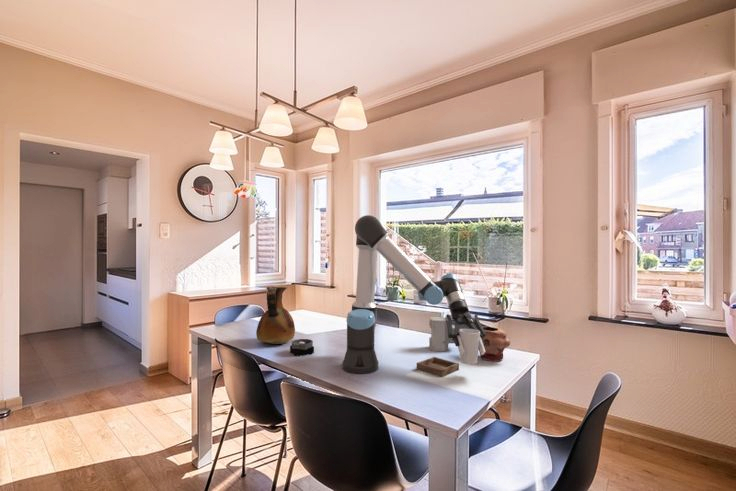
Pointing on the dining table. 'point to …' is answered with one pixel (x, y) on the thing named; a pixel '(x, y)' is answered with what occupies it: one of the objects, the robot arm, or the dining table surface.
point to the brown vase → (275, 319)
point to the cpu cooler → (302, 347)
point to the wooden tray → (437, 366)
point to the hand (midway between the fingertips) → (472, 353)
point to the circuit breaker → (439, 334)
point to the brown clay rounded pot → (494, 344)
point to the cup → (469, 345)
